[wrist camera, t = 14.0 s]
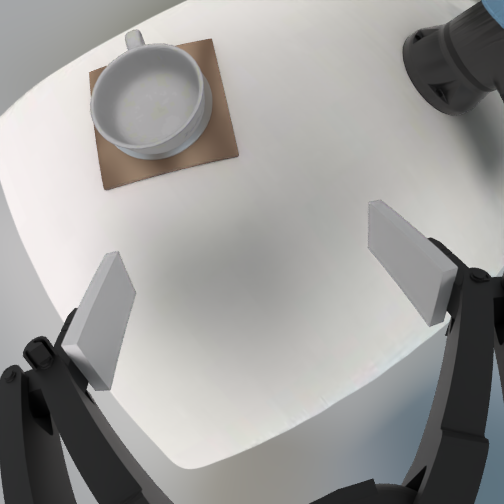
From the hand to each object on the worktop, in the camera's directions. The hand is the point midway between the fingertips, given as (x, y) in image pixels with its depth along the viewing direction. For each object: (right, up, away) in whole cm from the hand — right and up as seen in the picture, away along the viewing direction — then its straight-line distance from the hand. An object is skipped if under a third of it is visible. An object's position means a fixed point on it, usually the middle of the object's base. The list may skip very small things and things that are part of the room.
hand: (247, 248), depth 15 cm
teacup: (-10, +17, +16) cm, 25 cm away
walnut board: (-11, +17, +18) cm, 27 cm away
